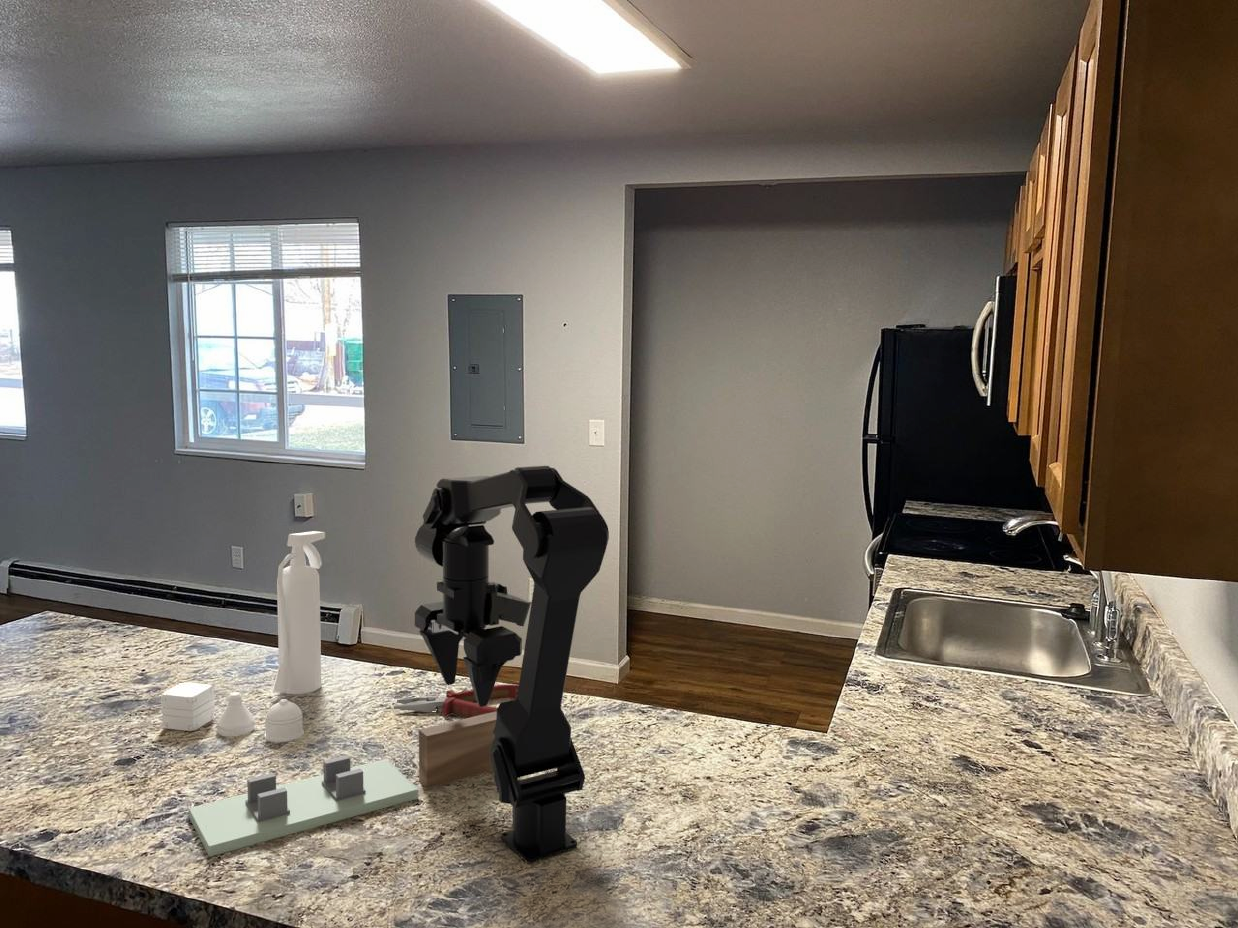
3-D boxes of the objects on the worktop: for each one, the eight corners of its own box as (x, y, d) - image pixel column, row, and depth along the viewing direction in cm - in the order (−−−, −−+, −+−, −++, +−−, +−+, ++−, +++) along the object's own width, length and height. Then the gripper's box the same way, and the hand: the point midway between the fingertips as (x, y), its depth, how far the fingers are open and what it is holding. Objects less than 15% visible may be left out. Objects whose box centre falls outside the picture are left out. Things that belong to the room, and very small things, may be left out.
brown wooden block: (511, 766, 126) (511, 715, 125) (427, 789, 119) (426, 736, 118) (502, 759, 128) (502, 709, 127) (419, 781, 121) (418, 729, 120)
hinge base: (418, 798, 116) (417, 766, 116) (209, 856, 102) (208, 820, 102) (386, 767, 124) (386, 737, 124) (189, 817, 110) (187, 784, 110)
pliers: (401, 697, 149) (401, 681, 149) (529, 697, 151) (530, 681, 150) (388, 727, 138) (388, 710, 138) (527, 727, 139) (528, 710, 139)
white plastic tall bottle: (251, 697, 146) (254, 537, 143) (301, 674, 157) (304, 526, 155) (288, 705, 144) (292, 543, 141) (336, 681, 155) (340, 530, 153)
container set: (161, 731, 134) (160, 693, 134) (184, 716, 139) (183, 680, 139) (291, 745, 131) (291, 707, 130) (310, 730, 136) (310, 693, 135)
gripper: (559, 582, 117) (558, 704, 119) (487, 554, 132) (487, 663, 134) (478, 595, 111) (478, 723, 113) (412, 564, 126) (413, 678, 127)
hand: (466, 694), depth 122 cm, fingers open, 9 cm apart
